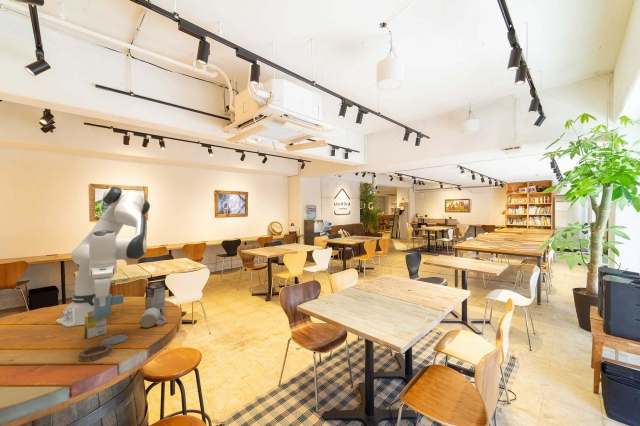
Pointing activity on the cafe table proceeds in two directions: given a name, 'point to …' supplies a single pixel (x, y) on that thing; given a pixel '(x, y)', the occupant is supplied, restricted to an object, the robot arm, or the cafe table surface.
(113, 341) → the coaster
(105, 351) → the ring holder
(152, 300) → the coffee box
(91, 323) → the crayon box
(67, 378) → the cafe table surface
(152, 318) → the ceramic mug
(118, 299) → the blue pot
